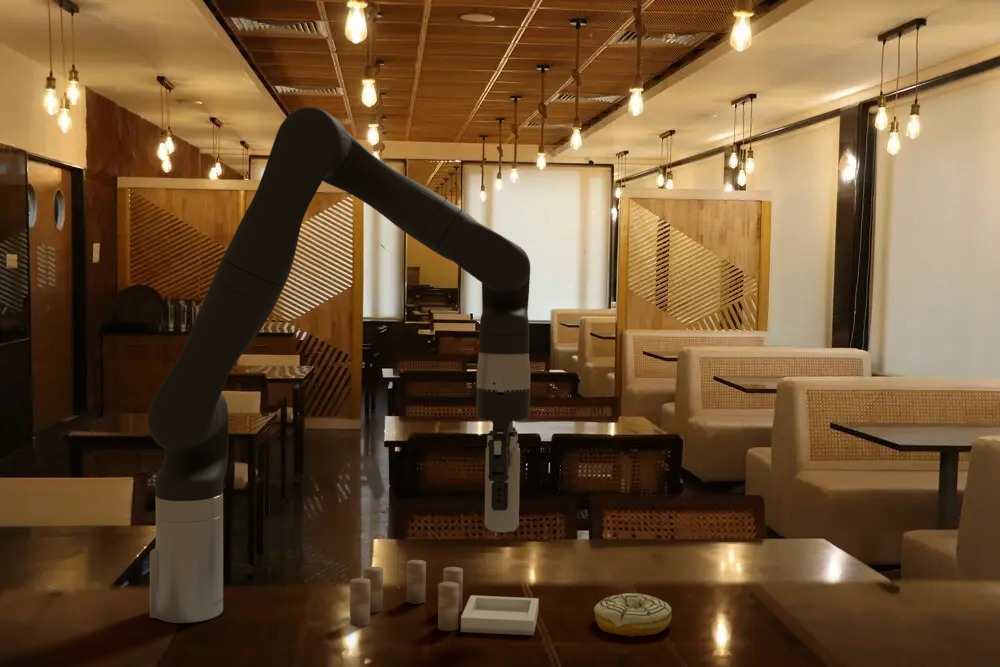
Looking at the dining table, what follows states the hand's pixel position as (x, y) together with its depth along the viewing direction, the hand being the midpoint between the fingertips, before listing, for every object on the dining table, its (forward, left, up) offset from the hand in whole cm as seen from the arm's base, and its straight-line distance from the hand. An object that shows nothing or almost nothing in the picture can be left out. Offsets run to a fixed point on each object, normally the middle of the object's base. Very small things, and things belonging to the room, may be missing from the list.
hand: (501, 504), depth 143 cm
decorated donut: (+19, +1, -17) cm, 25 cm away
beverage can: (0, 0, -4) cm, 4 cm away
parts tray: (0, 0, -17) cm, 17 cm away
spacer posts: (-13, +2, -17) cm, 21 cm away
